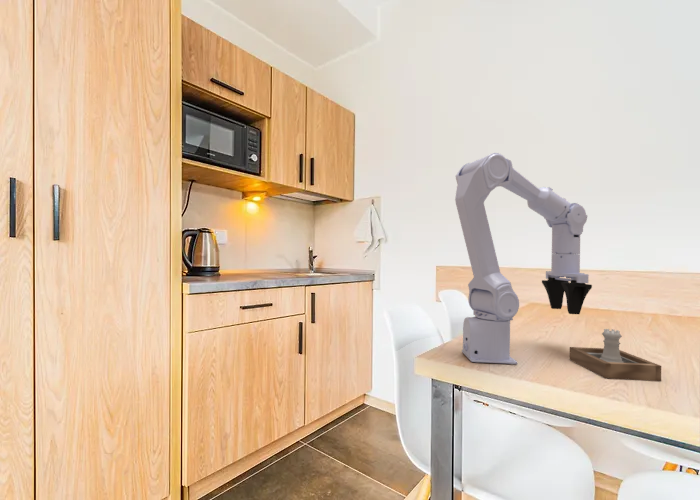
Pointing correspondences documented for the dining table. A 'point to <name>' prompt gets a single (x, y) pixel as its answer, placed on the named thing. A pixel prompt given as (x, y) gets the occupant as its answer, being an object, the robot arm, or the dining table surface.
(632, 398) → the dining table surface
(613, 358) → the rook chess piece
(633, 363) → the box
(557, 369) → the dining table surface
